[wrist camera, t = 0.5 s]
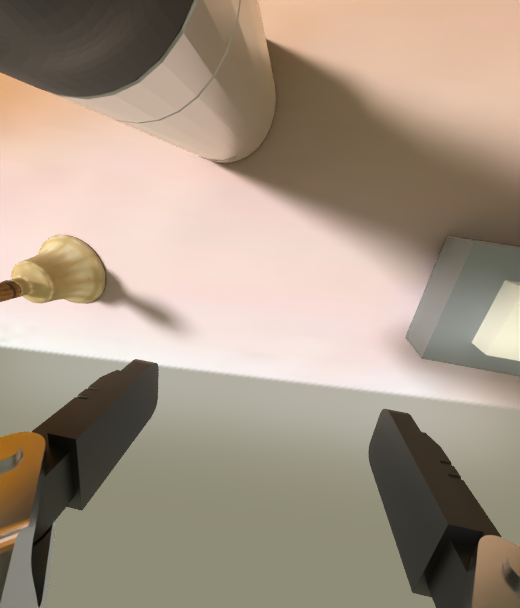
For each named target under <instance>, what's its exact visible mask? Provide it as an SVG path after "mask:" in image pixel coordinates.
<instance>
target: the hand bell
mask: <svg viewBox="0 0 520 608" xmlns="http://www.w3.org/2000/svg"><path fill="white" fill-rule="evenodd" d="M11 277H12V280H9V281H8V280H6V281H3V282H1V283H0V302H2V301H6V300H9V299H13V298H17V297H20V296H23V297H24V298H25V299H27V300H29V301H31V302H34V303H46V302H49V301H53V300H58V299H65V300H68V301H70V302H74V303H89V302H92V301H95V300H96V299H97V298H99V297H100V296H101V294H102V292H103V290H104V288H105V271H104V268H103V265H102V263H101V261H100V259H99V258H98V256H97V255H96V253H95V252H94V251H93V250H92V249H91V248H90V247H89V246H88V245H87V244H86V243H84V242H83V241H81V240H79V239H77V238H75V237H72V236H68V235H56V236H53V237H51V238H49V239H48V240H47V241H46V242H45V243H44V244H43V245H42V246H41V248H40V250H39V254H38V255H36V256H35V257H32V258H30V259H28V260H25V261H22V262H19V263H18V264H16V265H15V266H14V268H13V270H12V274H11Z"/></svg>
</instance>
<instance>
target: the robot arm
mask: <svg viewBox="0 0 520 608" xmlns="http://www.w3.org/2000/svg"><path fill="white" fill-rule="evenodd" d="M0 72H1V73H3V74H6V75H8V76H11V77H13V78H15V79H18V80H20V81H22V82H25V83H27V84H29V85H32V86H34V87H37V88H39V89H42V90H44V91H47V92H49V93H52V94H54V95H56V96H59V97H61V98H63V99H66V100H68V101H70V102H73V103H75V104H78V105H80V106H82V107H85V108H87V109H89V110H92V111H94V112H97V113H99V114H102V115H104V116H106V117H109V118H111V119H113V120H116V121H118V122H120V123H123V124H125V125H127V126H130V127H132V128H135V129H137V130H139V131H142V132H144V133H146V134H149V135H151V136H153V137H156V138H158V139H160V140H163V141H165V142H168V143H170V144H172V145H175V146H177V147H179V148H182V149H184V150H186V151H189V152H191V153H193V154H195V155H197V156H199V157H202V158H204V159H207V160H211V161H215V162H218V163H230V162H235V161H239V160H241V159H243V158H245V157H247V156H249V155H250V154H251V153H252V152H254V151H255V150H256V149H257V148H258V147H259V146H260V144H261V143H262V142H263V141H264V139H265V138H266V136H267V134H268V132H269V130H270V128H271V124H272V121H273V118H274V114H275V105H276V92H275V83H274V78H273V73H272V68H271V63H270V57H269V52H268V47H267V42H266V38H265V33H264V28H263V23H262V18H261V13H260V8H259V3H258V0H0ZM157 399H158V364H157V363H153V362H148V361H143V360H138V359H135V360H133V361H132V362H131V363H130V364H128V365H127V366H126V367H125V368H124V369H122V370H121V371H119V370H116V371H114V372H111V373H109V374H107V375H105V376H102V377H100V378H99V379H98V380H97V381H95V382H94V383H93V384H92V385H90V386H89V388H88V389H85V390H84V391H83V392H81V393H80V394H79V395H78V397H77V398H74V399H73V400H71V401H70V402H69V403H67V404H66V405H65V406H64V407H62V408H61V409H60V410H59V411H57V412H56V413H55V414H53V415H52V416H51V417H50V418H48V419H47V420H46V421H45V422H43V423H42V424H41V425H40V426H38V427H37V428H36V429H34V430H33V431H32V432H19V433H13V434H9V435H6V436H3V437H0V608H46V601H47V593H48V585H49V578H50V570H51V561H52V553H53V546H54V538H55V530H56V519H57V518H58V516H59V515H60V514H61V512H62V511H63V510H64V509H65V507H70V508H74V509H78V510H83V509H84V507H85V506H86V505H87V503H88V502H89V500H90V499H91V498H92V496H93V495H94V493H95V492H96V491H97V489H98V488H99V487H100V486H101V484H102V483H103V482H104V480H105V479H106V478H107V476H108V475H109V473H110V472H111V471H112V469H113V468H114V467H115V465H116V464H117V463H118V461H119V460H120V459H121V457H122V456H123V455H124V453H125V452H126V450H127V449H128V448H129V446H130V445H131V444H132V442H133V441H134V440H135V438H136V437H137V436H138V434H139V433H140V431H141V430H142V429H143V427H144V426H145V425H146V423H147V422H148V420H149V419H150V418H151V416H152V415H153V413H154V410H155V408H156V405H157ZM369 461H370V466H371V469H372V472H373V475H374V478H375V481H376V484H377V487H378V490H379V493H380V496H381V499H382V502H383V505H384V508H385V511H386V514H387V517H388V520H389V523H390V526H391V529H392V532H393V535H394V538H395V541H396V544H397V547H398V550H399V553H400V556H401V559H402V562H403V566H404V569H405V572H406V574H407V578H408V580H409V583H410V586H411V590H412V592H413V593H416V594H420V595H424V596H429V597H432V598H433V601H434V603H435V606H436V608H520V547H519V546H518V545H516V544H514V543H513V542H511V541H509V540H506V539H504V538H502V537H501V535H500V534H499V532H498V531H497V529H496V528H495V526H494V525H493V523H492V522H491V521H490V519H489V518H488V516H487V515H486V513H485V512H484V510H483V509H482V507H481V506H480V504H479V503H478V501H477V500H476V498H475V497H474V496H473V494H472V492H471V491H470V490H469V488H468V487H467V485H466V484H465V482H464V481H463V480H461V476H460V475H459V473H458V472H457V470H456V469H455V467H454V466H452V465H451V462H450V460H449V459H448V457H447V456H446V454H445V453H444V451H443V450H442V448H441V447H440V446H439V445H438V444H437V443H436V442H435V441H433V440H432V439H431V438H430V437H429V436H428V435H427V434H426V433H423V432H421V431H420V429H419V428H418V426H417V425H416V423H415V421H414V420H413V419H412V417H411V415H410V414H408V413H403V412H398V411H394V410H388V409H383V410H382V411H381V413H380V416H379V418H378V422H377V424H376V427H375V430H374V433H373V436H372V439H371V442H370V445H369Z"/></svg>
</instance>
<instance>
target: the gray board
mask: <svg viewBox="0 0 520 608" xmlns="http://www.w3.org/2000/svg"><path fill="white" fill-rule="evenodd" d="M505 280H508V281H514V282H520V246H513V245H507V244H500V243H493V242H486V241H480V240H473V239H466V238H460V237H453V236H447V238H446V240H445V242H444V245H443V247H442V250H441V252H440V255H439V257H438V260H437V262H436V264H435V267H434V269H433V272H432V274H431V277H430V279H429V281H428V284H427V286H426V289H425V291H424V294H423V296H422V299H421V301H420V303H419V306H418V308H417V311H416V313H415V316H414V318H413V320H412V323H411V325H410V328H409V330H408V333H407V335H406V337H405V338H406V339H407V340H408V341H409V343H410V344H411V345H412V347H413V348H414V349H415V351H416V352H417V353H418V354H419V356H420V357H421V358H422V359H428V360H433V361H439V362H444V363H450V364H455V365H461V366H466V367H472V368H477V369H483V370H488V371H493V372H499V373H504V374H510V375H515V376H520V361H516V360H511V359H505V358H500V357H494V356H489V355H486V354H484V353H483V352H482V351H481V350H480V349H478V348H477V347H476V346H475V345H474V344H472V341H473V339H474V337H475V335H476V334H477V332H478V330H479V328H480V326H481V324H482V322H483V320H484V319H485V317H486V315H487V313H488V311H489V309H490V307H491V305H492V304H493V302H494V300H495V298H496V296H497V294H498V292H499V290H500V289H501V287H502V285H503V283H504V281H505Z"/></svg>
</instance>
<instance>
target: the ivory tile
mask: <svg viewBox="0 0 520 608" xmlns="http://www.w3.org/2000/svg"><path fill="white" fill-rule="evenodd" d="M472 344H474V345H475V346H476V347H477V348H478V349H480V350H481V351H482V352H483V353H484V354H486V355H489V356H494V357H500V358H505V359H511V360H516V361H520V282H514V281H508V280H505V281H504V283H503V285H502V287H501V289H500V290H499V292H498V294H497V296H496V298H495V300H494V302H493V304H492V305H491V307H490V309H489V311H488V313H487V315H486V317H485V319H484V320H483V322H482V324H481V326H480V328H479V330H478V332H477V334H476V335H475V337H474V339H473V341H472Z"/></svg>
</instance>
